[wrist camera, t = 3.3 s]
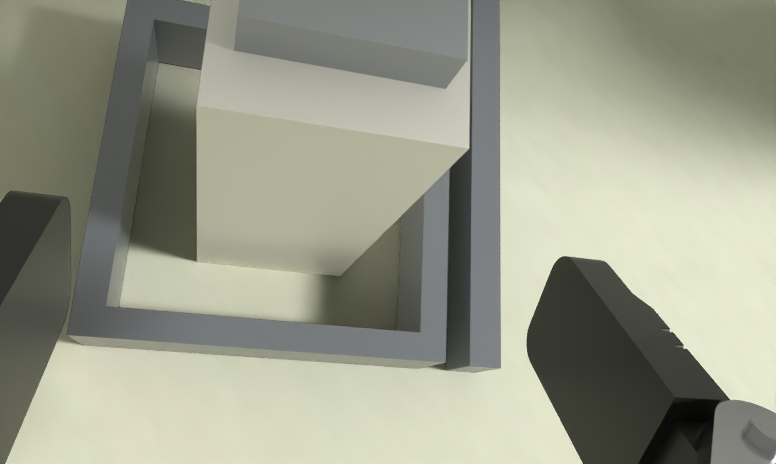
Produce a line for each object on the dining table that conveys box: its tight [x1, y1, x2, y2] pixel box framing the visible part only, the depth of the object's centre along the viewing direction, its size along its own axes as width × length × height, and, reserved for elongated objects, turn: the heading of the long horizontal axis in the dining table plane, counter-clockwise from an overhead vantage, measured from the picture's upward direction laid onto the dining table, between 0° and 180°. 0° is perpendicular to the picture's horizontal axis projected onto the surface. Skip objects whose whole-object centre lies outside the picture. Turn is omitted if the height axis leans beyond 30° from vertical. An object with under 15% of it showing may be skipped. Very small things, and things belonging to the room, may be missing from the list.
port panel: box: [67, 0, 501, 372], centre depth 23 cm, size 24×12×2 cm, turn 177°
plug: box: [197, 0, 471, 276], centre depth 16 cm, size 4×4×12 cm
